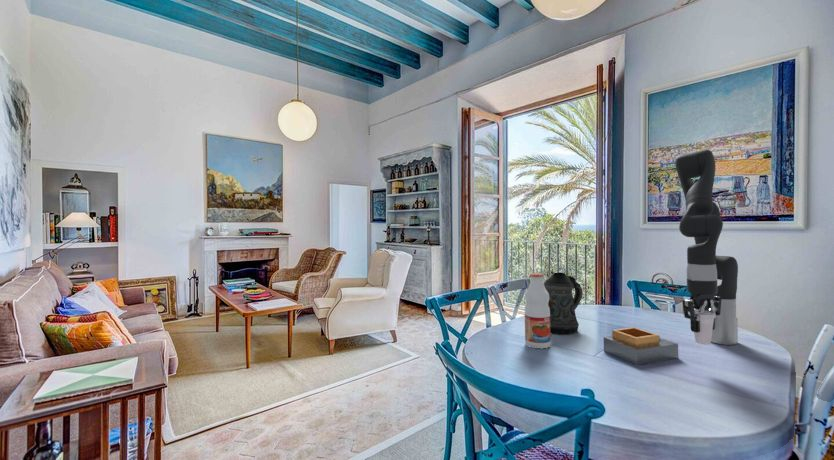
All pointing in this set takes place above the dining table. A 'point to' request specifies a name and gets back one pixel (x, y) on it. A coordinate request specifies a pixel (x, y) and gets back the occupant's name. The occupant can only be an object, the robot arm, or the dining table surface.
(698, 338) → the smoothie
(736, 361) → the dining table surface
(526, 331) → the fruit juice
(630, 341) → the grey flat boxy piece
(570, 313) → the beer stein
